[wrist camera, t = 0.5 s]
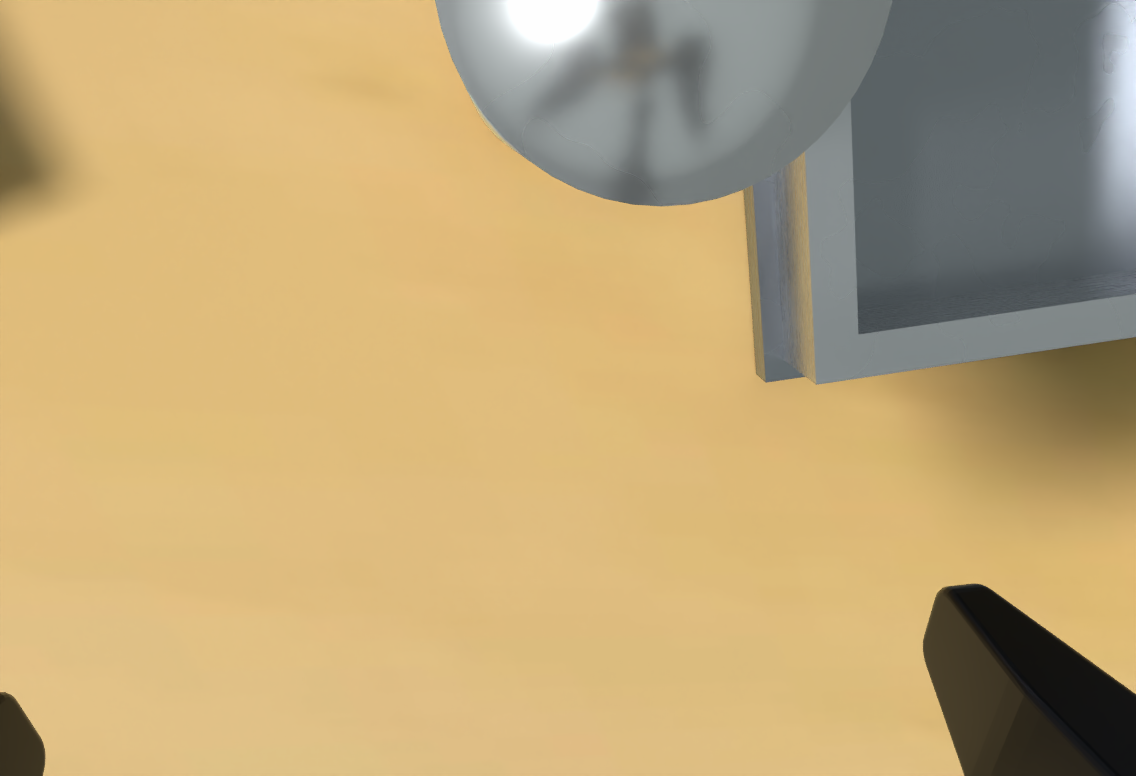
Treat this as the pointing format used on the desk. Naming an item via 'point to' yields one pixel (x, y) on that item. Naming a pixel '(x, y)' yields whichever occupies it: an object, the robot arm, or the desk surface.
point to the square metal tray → (957, 197)
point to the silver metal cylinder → (661, 86)
